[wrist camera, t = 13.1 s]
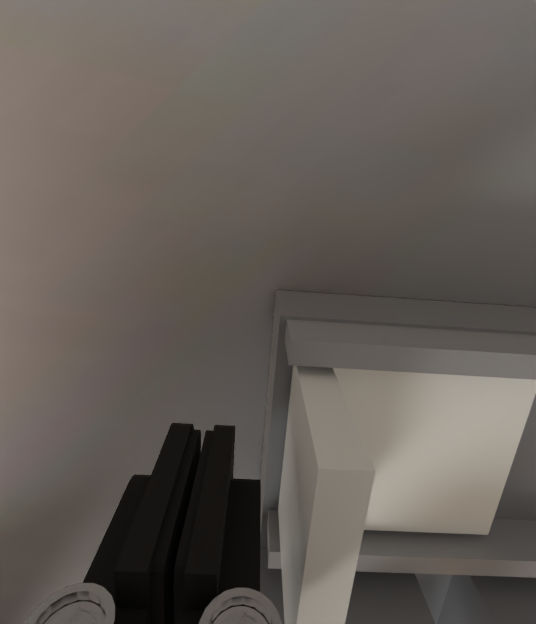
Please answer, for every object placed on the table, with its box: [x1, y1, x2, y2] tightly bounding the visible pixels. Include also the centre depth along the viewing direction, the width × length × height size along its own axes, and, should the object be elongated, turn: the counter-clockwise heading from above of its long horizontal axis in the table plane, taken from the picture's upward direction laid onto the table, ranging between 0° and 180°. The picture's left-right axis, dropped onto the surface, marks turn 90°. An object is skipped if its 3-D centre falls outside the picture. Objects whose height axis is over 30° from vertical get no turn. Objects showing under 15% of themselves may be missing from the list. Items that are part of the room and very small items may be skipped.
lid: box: [278, 365, 536, 624], centre depth 10 cm, size 7×6×5 cm
